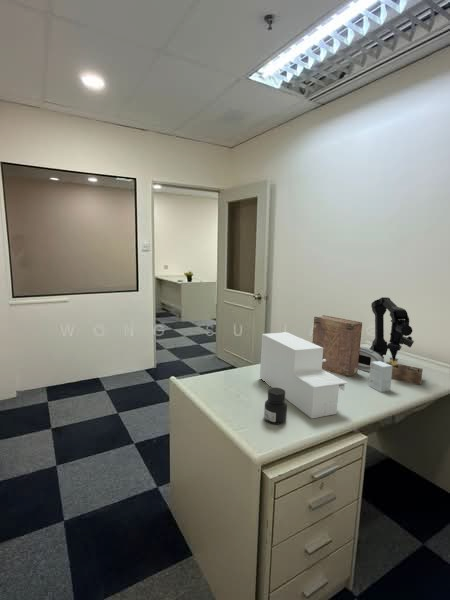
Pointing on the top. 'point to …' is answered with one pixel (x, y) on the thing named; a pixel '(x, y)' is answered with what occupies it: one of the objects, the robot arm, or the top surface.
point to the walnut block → (406, 374)
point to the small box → (380, 376)
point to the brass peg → (393, 362)
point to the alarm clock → (367, 358)
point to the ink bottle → (275, 406)
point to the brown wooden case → (338, 343)
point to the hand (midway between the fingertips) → (393, 358)
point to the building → (299, 373)
